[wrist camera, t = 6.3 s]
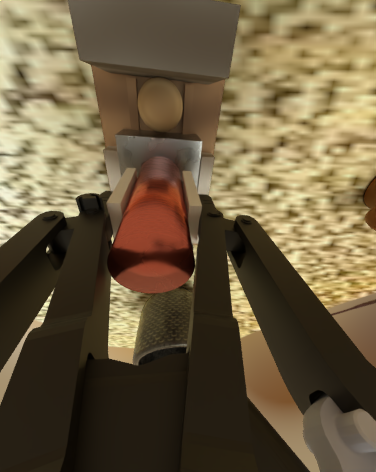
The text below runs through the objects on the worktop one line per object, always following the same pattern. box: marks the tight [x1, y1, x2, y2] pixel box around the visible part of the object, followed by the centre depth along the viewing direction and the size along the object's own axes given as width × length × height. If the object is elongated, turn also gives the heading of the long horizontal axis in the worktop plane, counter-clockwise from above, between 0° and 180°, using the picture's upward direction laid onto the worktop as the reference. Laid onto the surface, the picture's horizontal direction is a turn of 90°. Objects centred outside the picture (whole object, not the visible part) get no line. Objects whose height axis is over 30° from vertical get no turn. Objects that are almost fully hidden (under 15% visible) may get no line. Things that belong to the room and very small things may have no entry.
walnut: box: [138, 77, 183, 132], centre depth 16 cm, size 4×4×4 cm
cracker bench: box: [68, 0, 241, 248], centre depth 19 cm, size 24×12×9 cm, turn 175°
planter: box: [133, 287, 193, 365], centre depth 36 cm, size 14×14×13 cm
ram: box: [107, 128, 203, 293], centre depth 14 cm, size 6×8×16 cm
